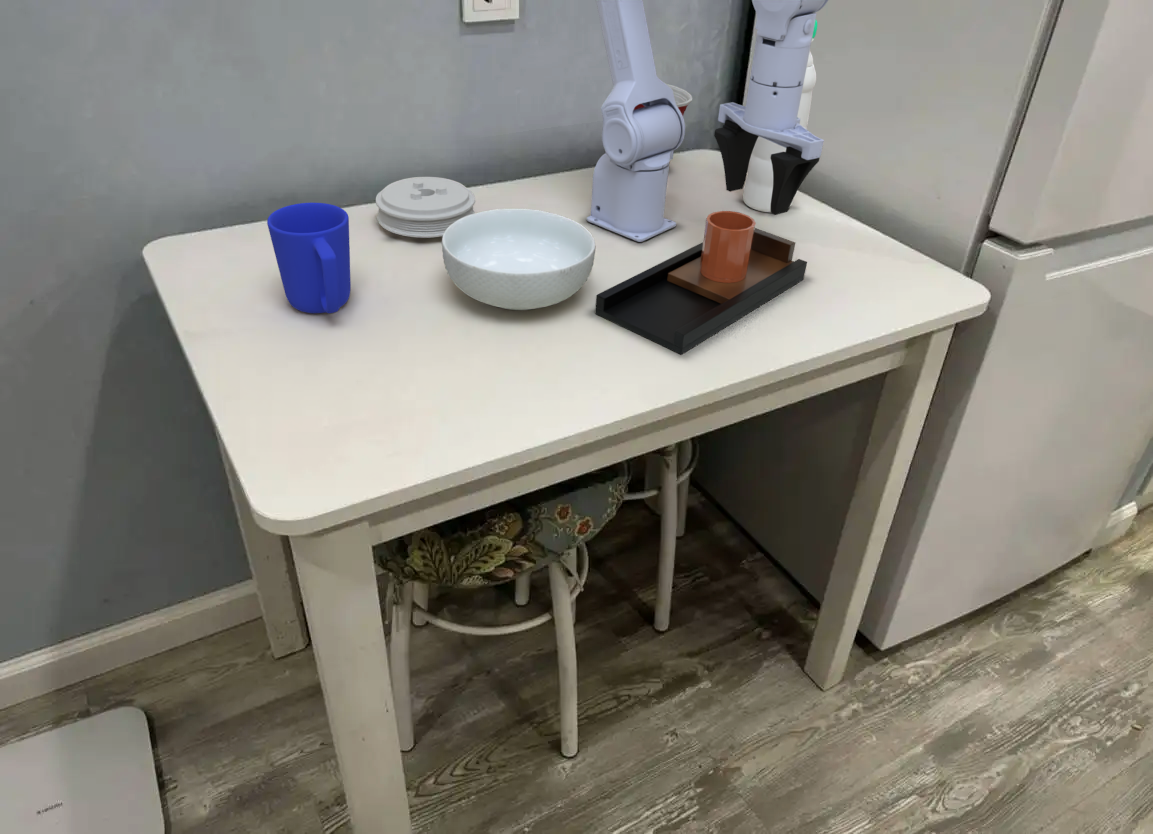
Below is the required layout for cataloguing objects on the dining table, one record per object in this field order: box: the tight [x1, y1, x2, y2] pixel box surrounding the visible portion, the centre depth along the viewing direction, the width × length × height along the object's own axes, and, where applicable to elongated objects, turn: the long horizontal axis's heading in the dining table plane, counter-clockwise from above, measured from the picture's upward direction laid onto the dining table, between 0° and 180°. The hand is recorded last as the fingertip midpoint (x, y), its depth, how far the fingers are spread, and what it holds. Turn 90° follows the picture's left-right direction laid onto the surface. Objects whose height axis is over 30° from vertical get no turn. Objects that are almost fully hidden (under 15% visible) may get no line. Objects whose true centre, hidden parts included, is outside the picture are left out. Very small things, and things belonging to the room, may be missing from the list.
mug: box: [266, 202, 352, 314], centre depth 95 cm, size 8×12×10 cm
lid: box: [375, 176, 476, 239], centre depth 116 cm, size 13×13×5 cm
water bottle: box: [742, 19, 818, 213], centre depth 120 cm, size 7×7×25 cm
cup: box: [700, 210, 757, 283], centre depth 103 cm, size 6×6×6 cm
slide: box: [667, 227, 796, 304], centre depth 106 cm, size 9×14×3 cm, turn 138°
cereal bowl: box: [441, 208, 597, 311], centre depth 100 cm, size 17×17×7 cm
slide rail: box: [594, 241, 808, 355], centre depth 103 cm, size 12×25×2 cm, turn 138°
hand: (756, 200), depth 104 cm, fingers open, 7 cm apart
